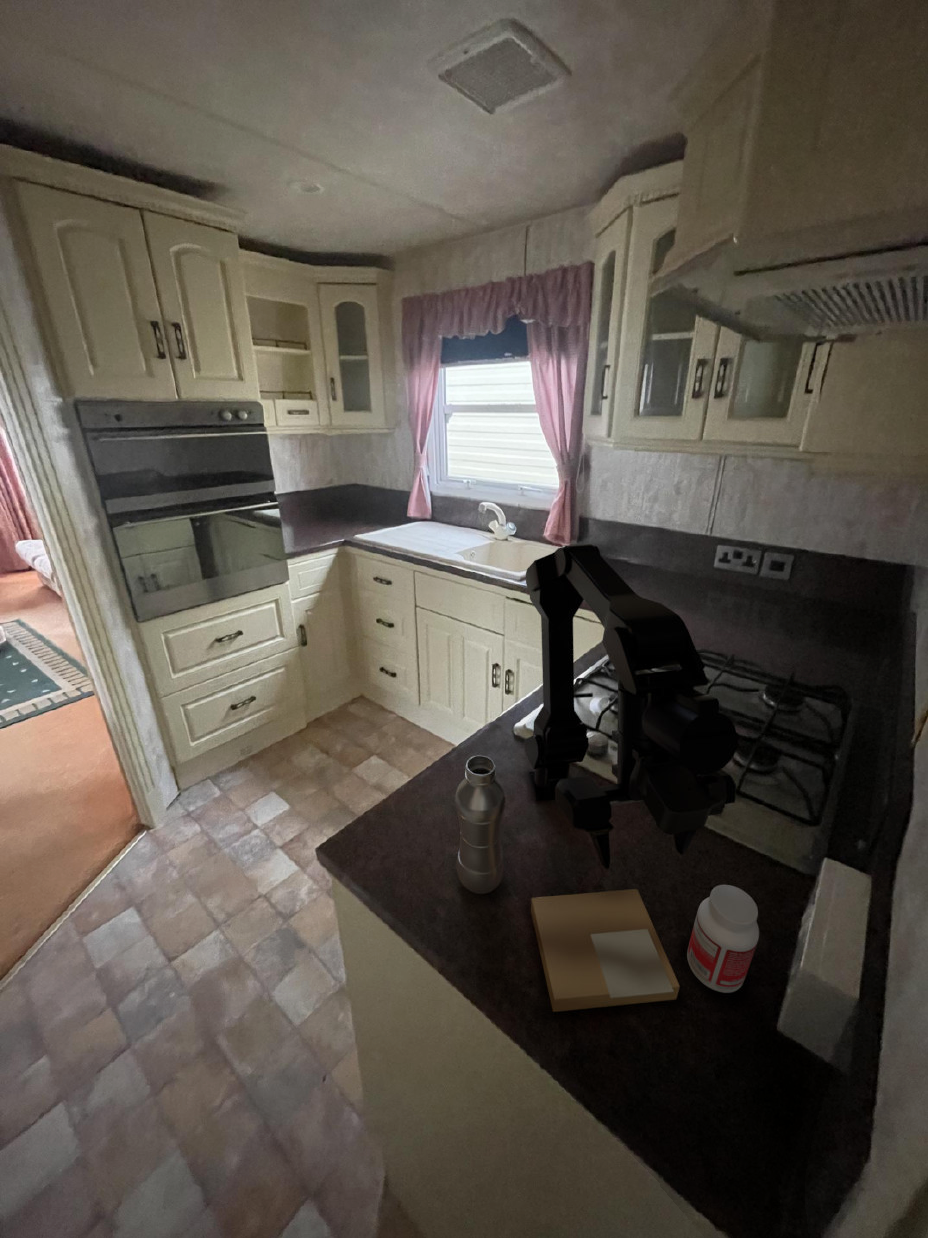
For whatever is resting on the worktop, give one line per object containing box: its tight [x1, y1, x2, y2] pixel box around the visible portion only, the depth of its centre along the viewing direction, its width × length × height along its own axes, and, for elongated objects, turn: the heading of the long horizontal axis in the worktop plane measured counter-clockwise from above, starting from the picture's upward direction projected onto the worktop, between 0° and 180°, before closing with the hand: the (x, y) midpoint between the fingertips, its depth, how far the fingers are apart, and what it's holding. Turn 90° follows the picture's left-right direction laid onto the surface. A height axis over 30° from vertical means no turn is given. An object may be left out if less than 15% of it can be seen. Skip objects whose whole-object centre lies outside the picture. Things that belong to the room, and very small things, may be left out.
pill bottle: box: [686, 884, 760, 994], centre depth 58 cm, size 6×6×11 cm
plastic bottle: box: [454, 755, 506, 895], centre depth 67 cm, size 6×7×20 cm
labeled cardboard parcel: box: [530, 888, 681, 1013], centre depth 61 cm, size 12×14×3 cm
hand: (643, 859), depth 58 cm, fingers open, 9 cm apart
